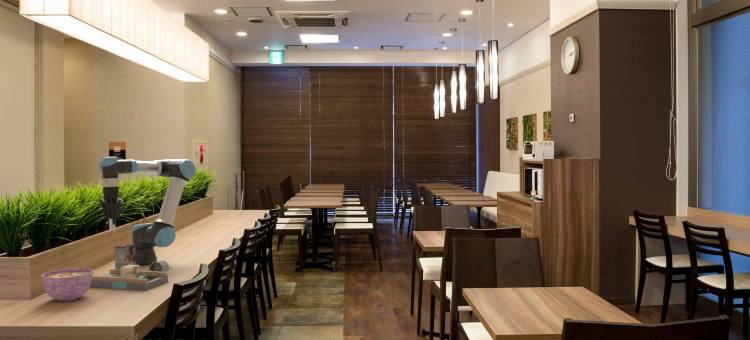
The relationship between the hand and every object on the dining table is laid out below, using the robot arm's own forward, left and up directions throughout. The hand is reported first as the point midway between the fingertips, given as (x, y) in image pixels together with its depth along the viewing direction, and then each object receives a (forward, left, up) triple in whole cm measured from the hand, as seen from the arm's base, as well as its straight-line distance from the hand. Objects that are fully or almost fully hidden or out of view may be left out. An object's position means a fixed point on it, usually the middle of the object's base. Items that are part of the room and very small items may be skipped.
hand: (112, 230), depth 277 cm
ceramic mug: (-7, +21, -24) cm, 33 cm away
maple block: (+14, +21, -21) cm, 33 cm away
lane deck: (+14, +20, -24) cm, 34 cm away
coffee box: (-1, +7, -24) cm, 25 cm away
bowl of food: (+43, +12, -24) cm, 51 cm away
